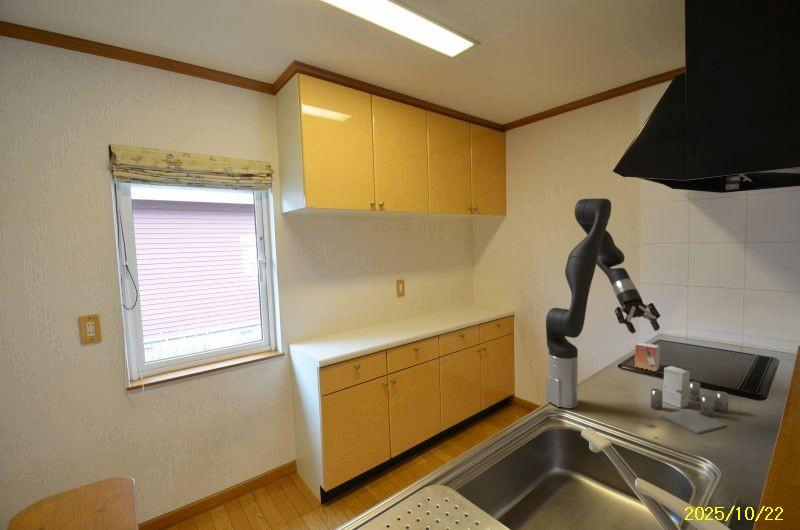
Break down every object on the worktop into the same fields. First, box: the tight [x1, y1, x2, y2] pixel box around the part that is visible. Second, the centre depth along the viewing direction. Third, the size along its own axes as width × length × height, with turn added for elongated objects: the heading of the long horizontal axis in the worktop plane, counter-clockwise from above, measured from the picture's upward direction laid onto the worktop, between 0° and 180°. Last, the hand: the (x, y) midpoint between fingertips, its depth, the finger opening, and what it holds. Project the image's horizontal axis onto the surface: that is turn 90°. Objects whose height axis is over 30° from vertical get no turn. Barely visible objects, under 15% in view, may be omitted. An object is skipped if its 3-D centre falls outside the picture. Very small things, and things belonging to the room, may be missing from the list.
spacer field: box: [650, 380, 730, 418], centre depth 121 cm, size 21×12×6 cm, turn 108°
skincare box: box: [662, 365, 691, 408], centre depth 125 cm, size 6×4×12 cm
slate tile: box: [659, 408, 727, 434], centre depth 113 cm, size 12×11×1 cm
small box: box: [634, 341, 661, 372], centre depth 160 cm, size 8×6×10 cm
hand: (645, 331), depth 134 cm, fingers open, 8 cm apart
